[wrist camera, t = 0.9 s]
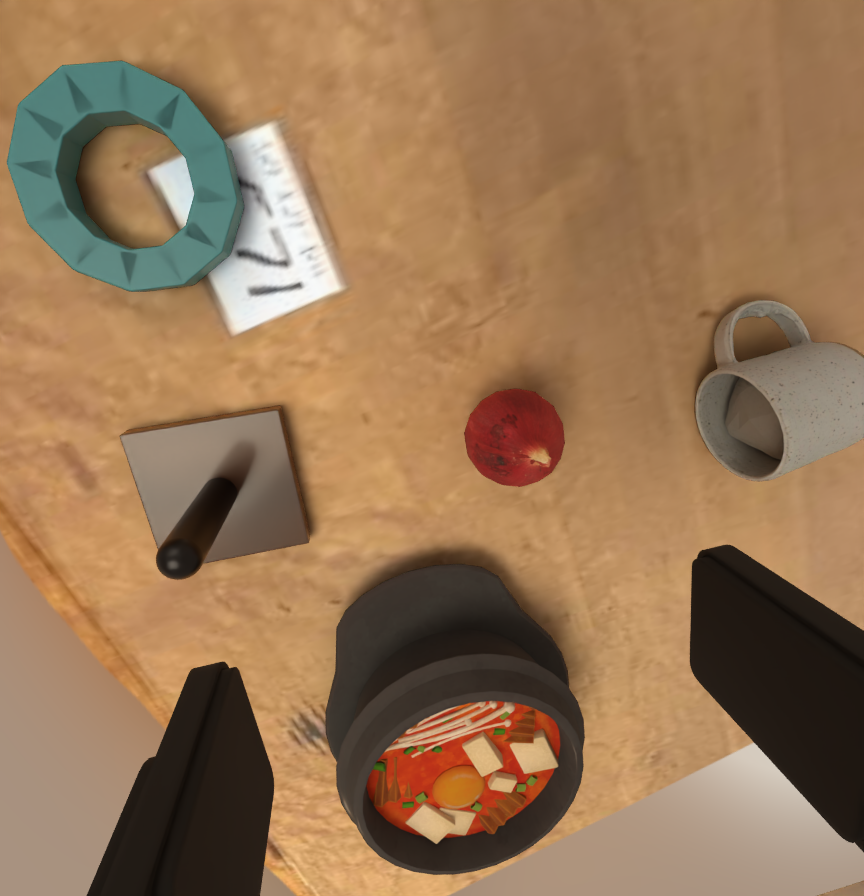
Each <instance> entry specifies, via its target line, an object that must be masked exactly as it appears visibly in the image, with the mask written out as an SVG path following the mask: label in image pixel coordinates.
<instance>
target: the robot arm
mask: <svg viewBox="0 0 864 896" xmlns="http://www.w3.org/2000/svg"><path fill="white" fill-rule="evenodd" d="M690 666H691V669H692V672H693V674H694V676H695V677H696V679H697V680H698V681H699V683H700V684H701V685H702V686H703V687H704V688H705V689H706V690H707V691H708V692H709V694H710V695H711V696H712V697H713V698H714V699H715V700H716V701H717V702H718V703H719V704H720V706H721V707H722V708H723V709H724V710H725V711H726V712H727V713H728V714H729V715H730V716H731V718H732V719H733V720H734V721H735V722H736V723H737V724H738V725H739V726H740V727H741V728H742V730H743V731H744V732H745V733H746V734H747V735H748V736H749V737H750V738H751V739H752V741H753V742H754V743H755V744H756V745H757V746H758V747H759V748H760V749H761V750H762V751H763V752H764V754H765V755H766V756H767V757H768V758H769V759H770V760H771V761H772V762H773V763H774V764H775V766H776V767H777V768H778V769H779V770H780V771H781V772H782V773H783V774H784V775H785V777H786V778H787V779H788V780H789V781H790V782H791V783H792V784H793V785H794V786H795V788H796V789H797V790H798V791H799V792H800V793H801V794H802V795H803V796H804V797H805V798H806V799H807V801H808V802H809V803H810V804H811V805H812V806H813V807H814V808H815V809H816V810H817V812H818V813H819V814H820V815H821V816H822V817H823V818H824V819H825V820H826V821H827V822H828V823H829V825H830V826H831V827H832V828H833V829H834V830H835V831H836V832H837V833H838V834H839V835H840V836H841V837H842V838H843V839H845V840H846V841H848V842H852V843H854V842H855V843H856V845H857V846H858V847H859V848H860V849H861V850H862V851H863V852H864V631H863V630H862V629H860V628H858V627H857V626H855V625H854V624H852V623H851V622H849V621H848V620H846V619H845V618H843V617H842V616H840V615H838V614H837V613H835V612H834V611H832V610H831V609H829V608H828V607H826V606H825V605H823V604H822V603H820V602H818V601H817V600H815V599H814V598H812V597H811V596H809V595H808V594H806V593H805V592H803V591H802V590H800V589H798V588H797V587H795V586H794V585H792V584H791V583H789V582H788V581H786V580H785V579H783V578H782V577H780V576H778V575H777V574H775V573H774V572H772V571H771V570H769V569H768V568H766V567H765V566H763V565H762V564H760V563H758V562H757V561H755V560H754V559H752V558H751V557H749V556H748V555H746V554H745V553H743V552H742V551H740V550H738V549H737V548H735V547H734V546H731V545H723V546H718V547H714V548H710V549H705V550H702V551H700V552H699V554H698V557H697V559H695V560H694V561H693V563H692V588H691V633H690ZM273 795H274V778H273V772H272V768H271V765H270V762H269V759H268V756H267V753H266V750H265V747H264V744H263V741H262V738H261V735H260V732H259V729H258V726H257V723H256V720H255V717H254V714H253V711H252V708H251V705H250V702H249V699H248V696H247V693H246V690H245V687H244V684H243V681H242V678H241V675H240V672H239V670H238V668H237V667H233V668H229V667H228V665H227V664H226V663H225V662H219V663H215V664H210V665H206V666H202V667H197V668H193V669H192V670H191V671H190V673H189V674H188V677H187V679H186V682H185V684H184V687H183V689H182V692H181V694H180V697H179V699H178V702H177V704H176V707H175V709H174V712H173V714H172V717H171V719H170V722H169V724H168V727H167V729H166V732H165V734H164V737H163V739H162V742H161V744H160V747H159V749H158V752H157V754H156V756H155V757H152V758H149V759H148V760H147V761H146V762H145V763H144V764H143V766H142V767H141V769H140V771H139V773H138V776H137V778H136V780H135V783H134V785H133V787H132V790H131V792H130V794H129V797H128V799H127V801H126V804H125V806H124V809H123V811H122V813H121V816H120V818H119V820H118V823H117V825H116V828H115V830H114V832H113V835H112V837H111V839H110V842H109V844H108V847H107V849H106V851H105V854H104V856H103V858H102V861H101V863H100V865H99V868H98V870H97V873H96V875H95V877H94V880H93V882H92V884H91V887H90V889H89V892H88V894H87V896H260V891H261V883H262V876H263V869H264V861H265V854H266V847H267V839H268V832H269V825H270V817H271V810H272V802H273ZM818 896H864V881H861V882H858V883H855V884H852V885H849V886H846V887H843V888H839V889H836V890H834V891H830V892H827V893H824V894H821V895H818Z"/></svg>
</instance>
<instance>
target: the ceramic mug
mask: <svg viewBox="0 0 864 896" xmlns="http://www.w3.org/2000/svg"><path fill="white" fill-rule="evenodd" d="M753 316H756V317H759V318H761V317H764V316H768V317H769V318H771V319H772V320H774V321H775V322H776V323H777V324H778V325H779V327H780V328H781V329H782V330H783V331H784V333H785V336H786V337H787V339H788V342H789V344H790V346H791V348H787V349H784V350H780V351H776V352H773V353H771V354H768V355H764V356H760V357H756V358H752V359H749V360H745V361H742V362H737V360H736V359H735V357H734V346H733V330H734V327H735V324H736V322H737V321H738V319H741V318H744V317H753ZM714 351H715V359H716V363H717V369H716V370H714V371H713V372H711V373H709V374H708V375H707V376H706V377H705V378H704V379H703V380H702V382H701V384H700V386H699V388H698V391H697V394H696V400H695V413H696V420H697V425H698V428H699V431H700V434H701V436H702V439H703V440H704V442H705V444H706V446H707V448H708V449H709V451H710V452H711V454H712V455H713V456H714V457H715V458H716V460H717V461H718V462H720V463H721V464H722V465H723V466H724V467H725V468H726V469H728V470H729V471H730V472H732V473H734V474H735V475H737V476H739V477H741V478H744V479H747V480H752V481H768V480H772V479H776V478H778V477H780V476H782V475H784V474H786V473H788V472H791V471H793V470H795V469H798V468H800V467H803V466H805V465H807V464H810V463H812V462H814V461H816V460H818V459H820V458H823V457H825V456H827V455H830V454H832V453H835V452H838V451H840V450H842V449H845V448H847V447H849V446H851V445H853V444H855V443H856V442H858V441H859V440H861V439H862V438H864V355H863V354H862V353H860V352H859V351H857V350H855V349H853V348H851V347H849V346H846V345H844V344H840V343H834V342H819V343H815V342H812V341H811V339H810V335H809V333H808V330H807V328H806V326H805V325H804V323H803V321H802V319H801V318H800V317H799V316H798V315H797V314H796V312H795V311H794V310H792V309H791V308H789V307H788V306H786V305H784V304H782V303H779V302H776V301H770V300H759V301H753V302H749V303H746V304H744V305H742V306H739V307H738V308H736V309H735V310H733V311H732V312H730V313H729V314H727V315H726V316H725V317H724V318H723V319H722V320H721V322H720V324H719V325H718V327H717V329H716V332H715V336H714Z"/></svg>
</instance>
